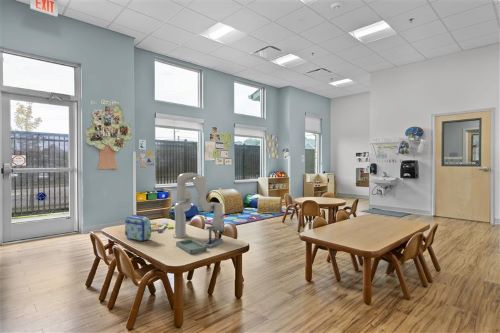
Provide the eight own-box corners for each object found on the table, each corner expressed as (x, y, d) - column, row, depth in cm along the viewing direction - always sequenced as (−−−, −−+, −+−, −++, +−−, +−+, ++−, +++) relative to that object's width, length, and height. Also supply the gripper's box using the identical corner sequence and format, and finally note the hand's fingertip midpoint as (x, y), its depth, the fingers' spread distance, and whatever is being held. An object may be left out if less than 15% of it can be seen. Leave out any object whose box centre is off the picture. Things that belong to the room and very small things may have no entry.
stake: (206, 245, 225) (206, 227, 225) (212, 244, 229) (212, 225, 228) (207, 246, 223) (207, 227, 223) (214, 245, 227) (214, 226, 227)
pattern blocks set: (138, 226, 293) (138, 223, 293) (171, 223, 305) (171, 221, 305) (138, 235, 258) (138, 232, 258) (174, 232, 270) (174, 229, 270)
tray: (176, 245, 225) (176, 241, 225) (191, 242, 233) (191, 238, 233) (190, 254, 204) (190, 249, 204) (206, 250, 212) (206, 246, 212)
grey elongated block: (210, 248, 219) (210, 239, 219) (201, 246, 222) (201, 238, 222) (223, 241, 238) (223, 233, 238) (215, 240, 241) (215, 232, 241)
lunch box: (123, 238, 246) (123, 215, 246) (133, 235, 256) (133, 213, 255) (141, 243, 233) (141, 218, 232) (152, 239, 242) (152, 216, 241)
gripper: (228, 217, 238) (228, 238, 238) (212, 215, 244) (212, 236, 245) (224, 219, 231) (224, 240, 231) (207, 217, 237) (207, 238, 238)
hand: (218, 238), depth 238 cm, fingers closed on grey elongated block, 3 cm apart
